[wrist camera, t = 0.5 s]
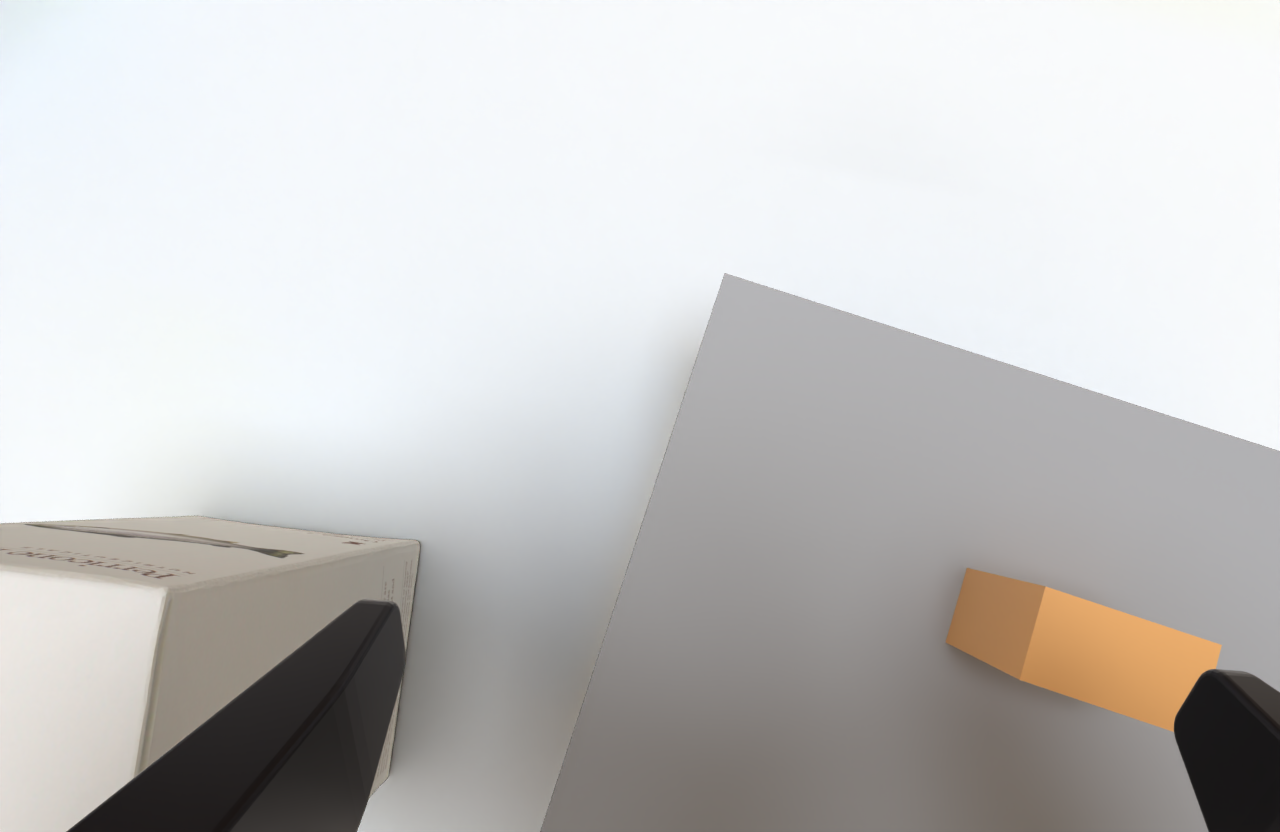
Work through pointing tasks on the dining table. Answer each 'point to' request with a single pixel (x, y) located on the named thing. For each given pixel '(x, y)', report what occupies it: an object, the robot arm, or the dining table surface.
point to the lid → (917, 595)
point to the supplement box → (155, 640)
